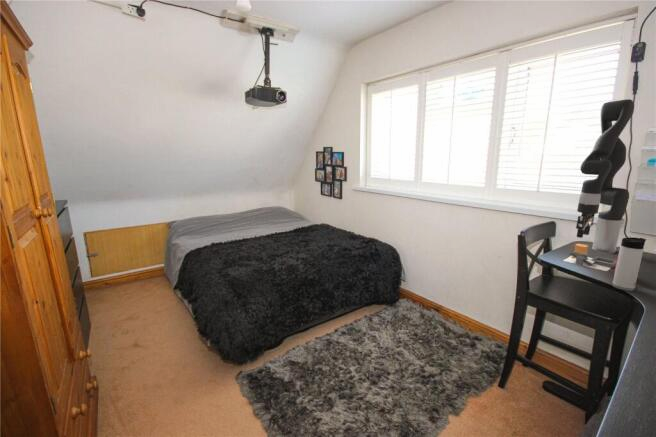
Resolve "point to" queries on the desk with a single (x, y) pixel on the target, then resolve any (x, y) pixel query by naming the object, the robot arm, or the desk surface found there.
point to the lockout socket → (604, 262)
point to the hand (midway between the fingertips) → (582, 236)
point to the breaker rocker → (583, 259)
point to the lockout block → (581, 249)
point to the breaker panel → (573, 260)
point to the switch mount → (580, 259)
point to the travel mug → (628, 263)
